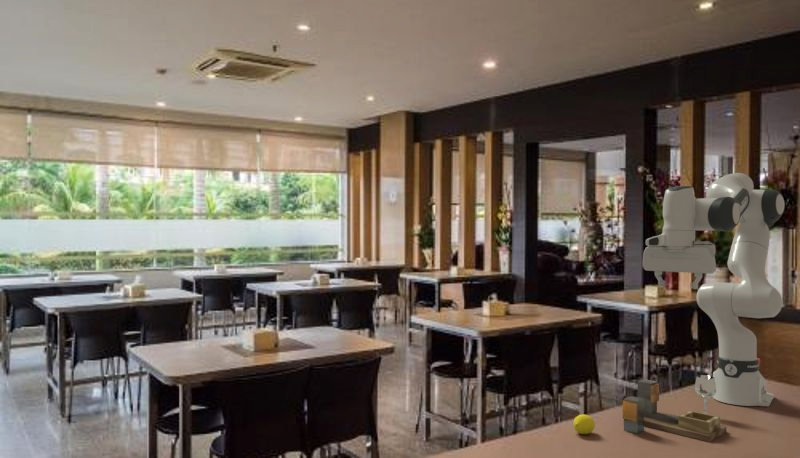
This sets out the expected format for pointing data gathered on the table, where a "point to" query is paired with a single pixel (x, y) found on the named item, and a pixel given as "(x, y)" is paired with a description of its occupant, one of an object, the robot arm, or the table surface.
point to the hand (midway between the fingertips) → (677, 287)
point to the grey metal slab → (633, 414)
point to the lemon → (583, 424)
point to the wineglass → (705, 387)
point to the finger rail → (677, 417)
